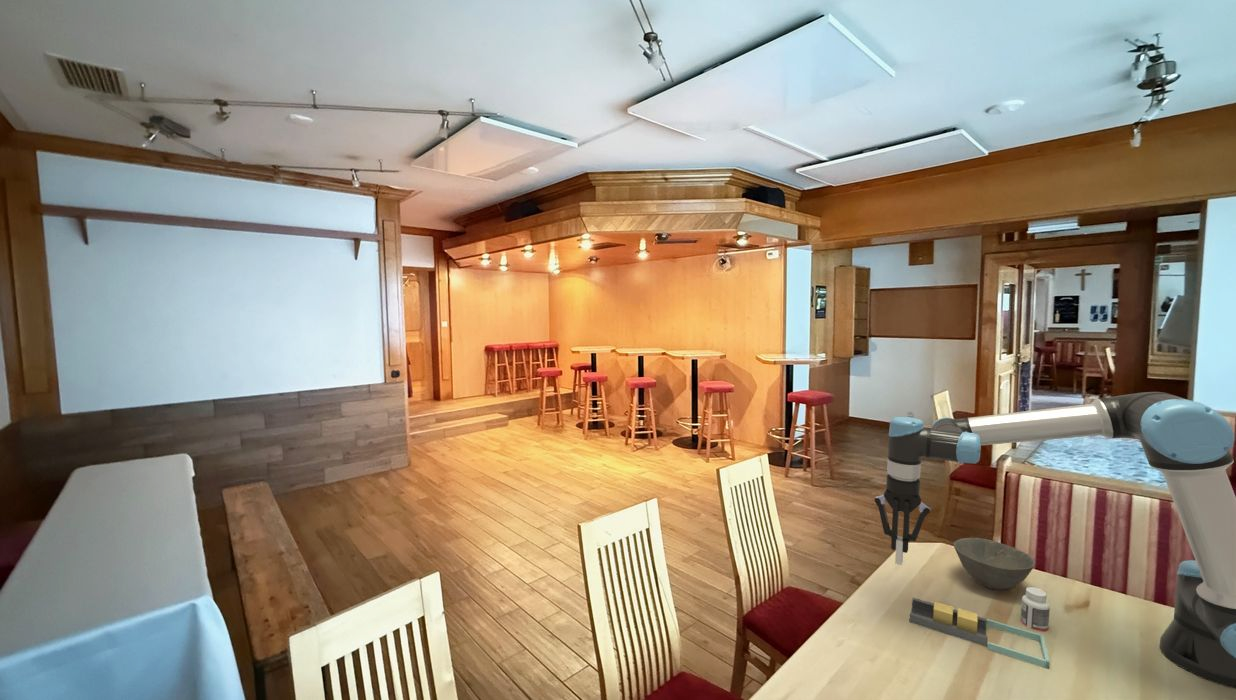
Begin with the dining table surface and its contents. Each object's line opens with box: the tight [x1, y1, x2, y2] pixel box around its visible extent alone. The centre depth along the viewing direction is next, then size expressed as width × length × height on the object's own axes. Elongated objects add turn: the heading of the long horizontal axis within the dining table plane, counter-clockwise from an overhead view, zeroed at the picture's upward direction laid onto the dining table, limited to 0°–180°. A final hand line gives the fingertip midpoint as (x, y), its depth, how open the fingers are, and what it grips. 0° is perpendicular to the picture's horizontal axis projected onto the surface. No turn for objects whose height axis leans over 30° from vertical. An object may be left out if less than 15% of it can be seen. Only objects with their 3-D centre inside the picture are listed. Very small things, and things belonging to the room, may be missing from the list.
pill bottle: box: [1020, 586, 1051, 632], centre depth 123 cm, size 5×5×10 cm
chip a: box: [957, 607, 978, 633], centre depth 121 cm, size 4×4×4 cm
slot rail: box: [908, 597, 989, 647], centre depth 124 cm, size 16×9×3 cm, turn 54°
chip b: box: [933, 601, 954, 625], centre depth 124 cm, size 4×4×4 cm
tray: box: [985, 618, 1051, 670], centre depth 116 cm, size 11×11×2 cm
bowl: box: [953, 537, 1036, 591], centre depth 142 cm, size 19×19×10 cm
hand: (898, 562), depth 129 cm, fingers closed
